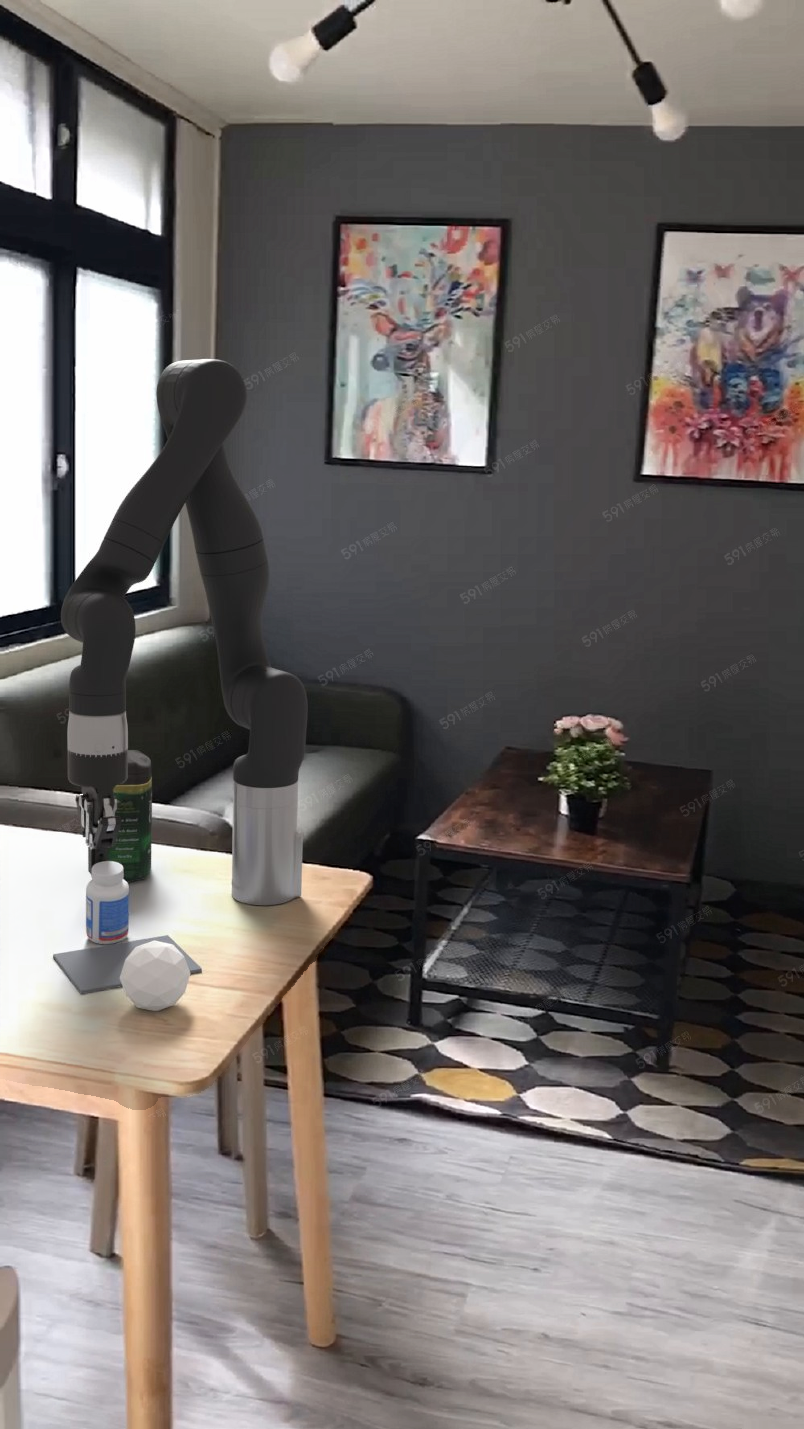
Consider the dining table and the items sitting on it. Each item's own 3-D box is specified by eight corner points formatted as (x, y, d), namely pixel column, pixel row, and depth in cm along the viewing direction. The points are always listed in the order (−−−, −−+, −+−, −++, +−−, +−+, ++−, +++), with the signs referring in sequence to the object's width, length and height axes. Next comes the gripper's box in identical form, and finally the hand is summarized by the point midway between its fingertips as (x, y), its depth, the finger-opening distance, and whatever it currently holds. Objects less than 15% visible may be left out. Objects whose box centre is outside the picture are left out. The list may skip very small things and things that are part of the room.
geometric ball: (136, 1029, 145) (97, 971, 145) (190, 988, 150) (152, 932, 149) (157, 1021, 139) (117, 961, 139) (213, 979, 143) (174, 921, 143)
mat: (167, 937, 165) (167, 935, 165) (201, 971, 155) (201, 968, 155) (53, 957, 157) (53, 954, 157) (81, 993, 147) (81, 990, 147)
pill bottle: (136, 930, 166) (138, 864, 162) (114, 949, 161) (116, 882, 158) (99, 920, 167) (100, 854, 164) (77, 938, 162) (78, 871, 159)
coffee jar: (150, 884, 185) (150, 761, 181) (95, 885, 183) (93, 761, 180) (153, 863, 194) (153, 745, 190) (101, 863, 193) (99, 745, 189)
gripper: (142, 755, 157) (141, 886, 161) (111, 732, 168) (111, 855, 172) (83, 760, 154) (83, 894, 157) (55, 736, 165) (56, 862, 168)
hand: (98, 874), depth 165 cm, fingers closed
